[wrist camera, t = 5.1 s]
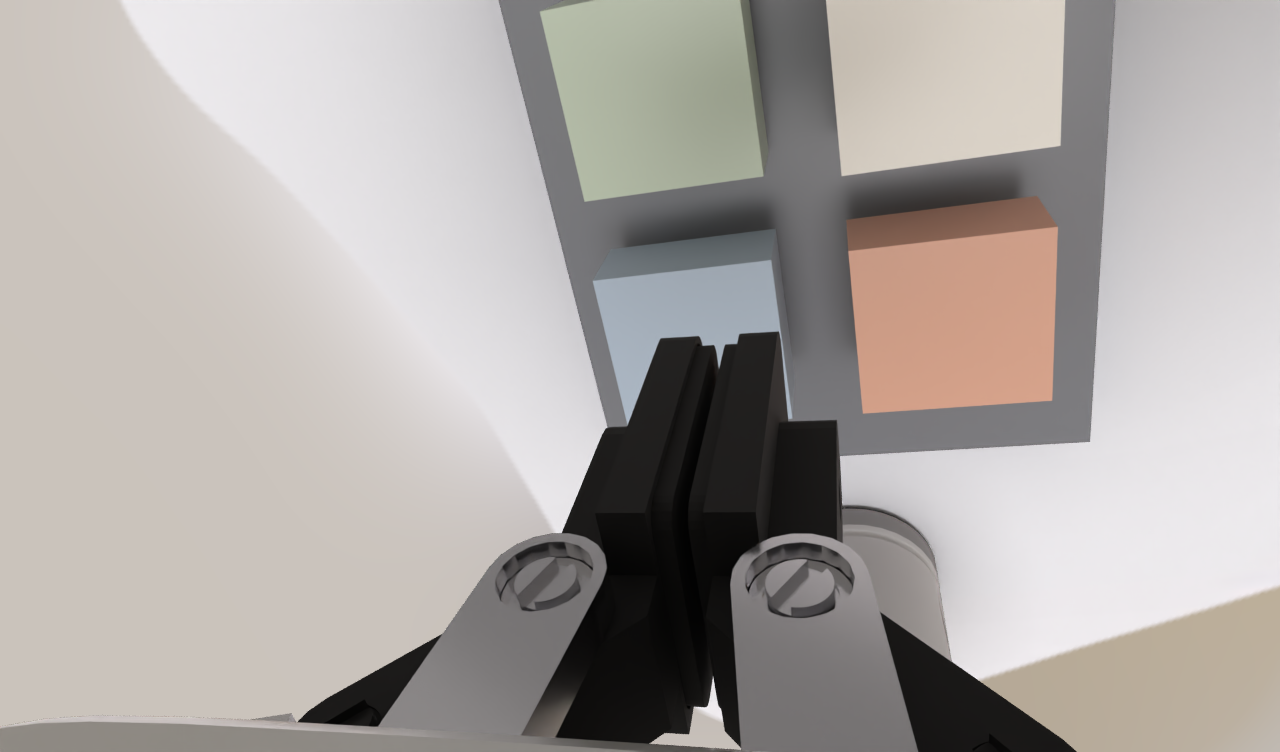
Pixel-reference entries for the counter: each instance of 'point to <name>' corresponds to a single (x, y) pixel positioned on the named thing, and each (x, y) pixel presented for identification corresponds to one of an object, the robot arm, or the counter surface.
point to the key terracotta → (954, 305)
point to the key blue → (690, 300)
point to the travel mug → (899, 573)
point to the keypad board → (817, 230)
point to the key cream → (944, 79)
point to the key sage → (658, 93)
